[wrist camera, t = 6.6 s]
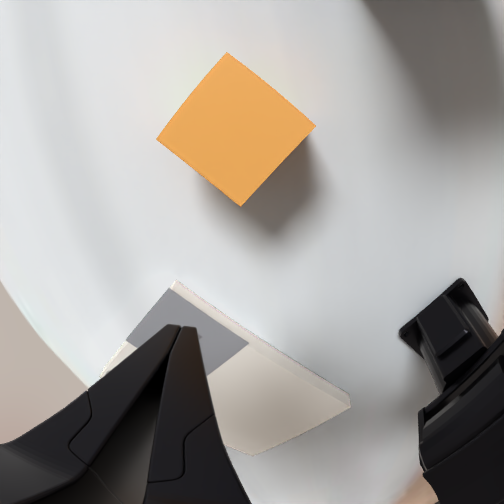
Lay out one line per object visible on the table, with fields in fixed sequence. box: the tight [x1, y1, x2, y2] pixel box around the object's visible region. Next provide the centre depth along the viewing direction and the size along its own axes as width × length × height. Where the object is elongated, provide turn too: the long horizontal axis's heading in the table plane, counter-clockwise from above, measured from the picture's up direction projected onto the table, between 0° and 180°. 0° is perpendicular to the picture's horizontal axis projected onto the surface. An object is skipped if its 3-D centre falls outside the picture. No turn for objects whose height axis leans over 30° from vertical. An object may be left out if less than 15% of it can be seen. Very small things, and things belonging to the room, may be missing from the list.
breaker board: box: [100, 280, 351, 456], centre depth 24 cm, size 18×13×2 cm
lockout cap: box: [156, 52, 316, 207], centre depth 14 cm, size 4×4×5 cm
